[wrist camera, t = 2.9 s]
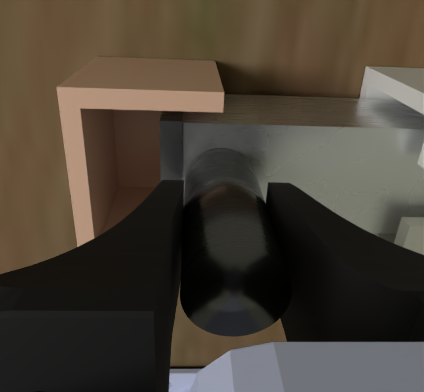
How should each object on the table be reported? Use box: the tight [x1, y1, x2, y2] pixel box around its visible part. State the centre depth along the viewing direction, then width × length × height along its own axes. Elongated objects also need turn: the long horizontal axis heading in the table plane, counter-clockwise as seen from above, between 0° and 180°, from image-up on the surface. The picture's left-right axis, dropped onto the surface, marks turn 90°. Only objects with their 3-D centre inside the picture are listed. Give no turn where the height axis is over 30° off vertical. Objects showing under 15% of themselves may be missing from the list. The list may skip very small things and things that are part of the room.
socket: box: [57, 56, 224, 246], centre depth 16 cm, size 6×5×6 cm
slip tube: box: [160, 94, 424, 336], centre depth 13 cm, size 4×12×10 cm, turn 88°
